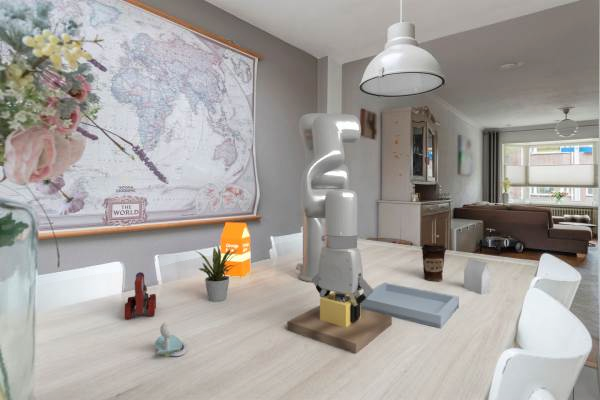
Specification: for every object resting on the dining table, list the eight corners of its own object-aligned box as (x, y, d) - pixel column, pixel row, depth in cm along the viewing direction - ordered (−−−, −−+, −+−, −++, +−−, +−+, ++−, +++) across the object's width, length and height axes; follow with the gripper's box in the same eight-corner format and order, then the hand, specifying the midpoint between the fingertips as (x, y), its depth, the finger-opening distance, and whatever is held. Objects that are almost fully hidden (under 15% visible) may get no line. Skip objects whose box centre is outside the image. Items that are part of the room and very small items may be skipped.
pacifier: (184, 342, 71) (154, 347, 68) (185, 313, 71) (154, 317, 68) (191, 357, 65) (158, 363, 62) (191, 325, 65) (158, 330, 62)
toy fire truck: (156, 304, 94) (156, 268, 94) (154, 320, 82) (153, 279, 82) (129, 307, 91) (128, 270, 91) (123, 324, 80) (122, 281, 79)
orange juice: (241, 277, 122) (241, 224, 121) (220, 276, 124) (220, 223, 124) (250, 272, 129) (250, 222, 129) (230, 271, 132) (230, 221, 131)
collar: (319, 319, 78) (320, 298, 77) (335, 311, 83) (335, 291, 83) (345, 327, 73) (346, 305, 73) (360, 317, 79) (360, 297, 79)
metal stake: (332, 319, 78) (333, 294, 78) (338, 315, 80) (338, 291, 80) (342, 321, 76) (342, 296, 76) (348, 318, 78) (348, 293, 78)
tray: (357, 307, 91) (357, 297, 91) (384, 291, 105) (384, 282, 105) (440, 328, 77) (440, 315, 77) (458, 307, 92) (458, 296, 92)
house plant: (254, 299, 98) (254, 244, 97) (214, 311, 88) (214, 251, 87) (227, 289, 108) (226, 239, 107) (187, 299, 97) (187, 244, 97)
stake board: (287, 329, 77) (287, 321, 77) (329, 307, 91) (329, 300, 91) (355, 353, 66) (356, 343, 65) (391, 324, 80) (391, 316, 80)
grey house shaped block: (481, 294, 103) (482, 262, 103) (463, 288, 109) (464, 258, 109) (490, 293, 104) (490, 261, 104) (472, 287, 111) (472, 257, 110)
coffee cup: (448, 283, 115) (448, 246, 114) (423, 282, 116) (423, 245, 116) (442, 276, 123) (443, 242, 123) (419, 275, 125) (419, 241, 125)
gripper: (302, 240, 80) (301, 313, 80) (367, 248, 69) (366, 332, 70) (319, 237, 86) (319, 304, 86) (382, 244, 75) (381, 321, 76)
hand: (340, 316), depth 78 cm, fingers closed on collar, 7 cm apart
